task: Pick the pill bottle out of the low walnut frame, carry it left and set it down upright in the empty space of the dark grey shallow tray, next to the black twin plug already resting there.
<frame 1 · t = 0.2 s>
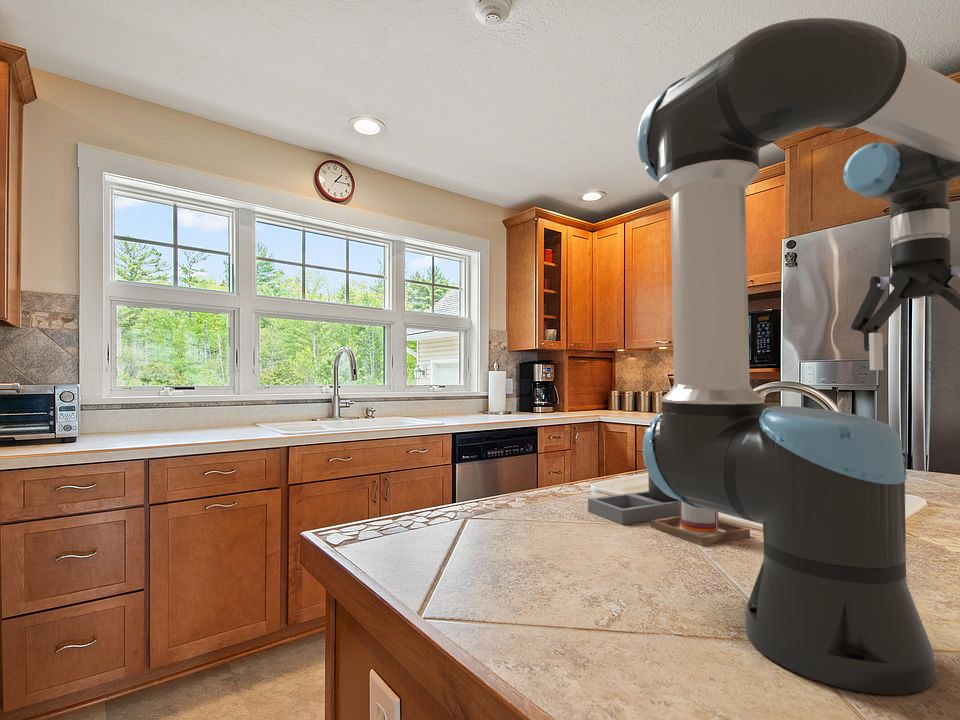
hand: (922, 369, 85), 28 cm above the counter, fingers open, 13 cm apart
twin plug: (663, 508, 104), resting in grey shallow tray
grey shallow tray: (644, 511, 102), on the counter
walnut frame: (698, 531, 89), on the counter
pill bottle: (699, 533, 89), resting in walnut frame
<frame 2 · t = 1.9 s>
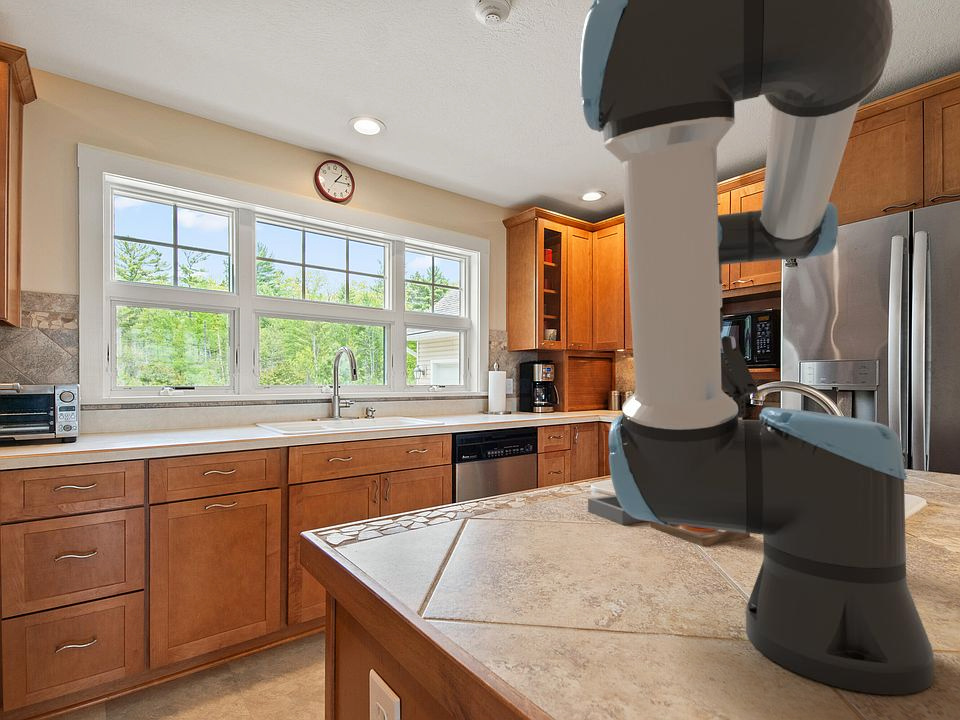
hand: (700, 433, 89), 17 cm above the counter, fingers open, 13 cm apart
nothing on the counter moved.
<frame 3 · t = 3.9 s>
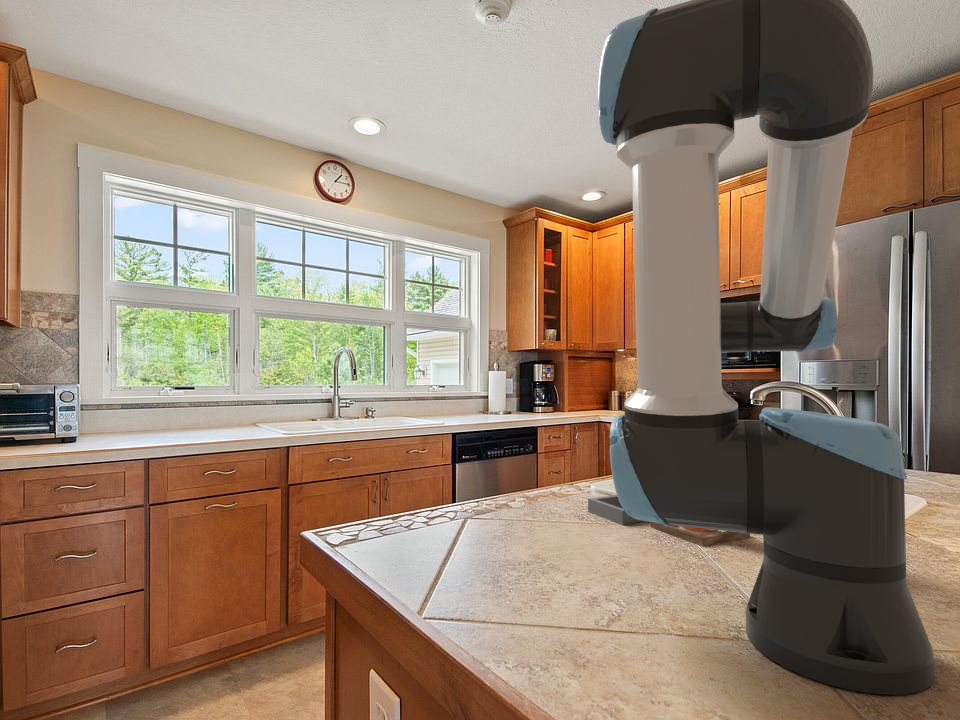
hand: (698, 523, 89), 1 cm above the counter, fingers closed on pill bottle, 6 cm apart
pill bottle: (699, 532, 89), resting in walnut frame, touching gripper
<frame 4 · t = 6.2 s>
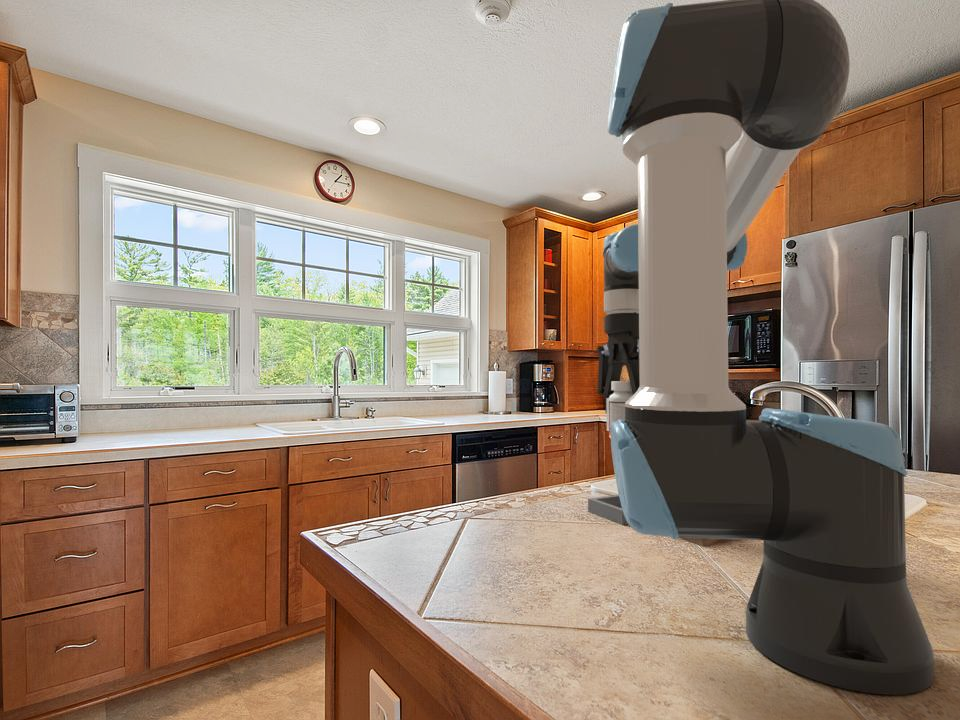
hand: (625, 432, 100), 16 cm above the counter, fingers closed on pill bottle, 6 cm apart
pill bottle: (625, 440, 100), point 14 cm above the counter, touching gripper
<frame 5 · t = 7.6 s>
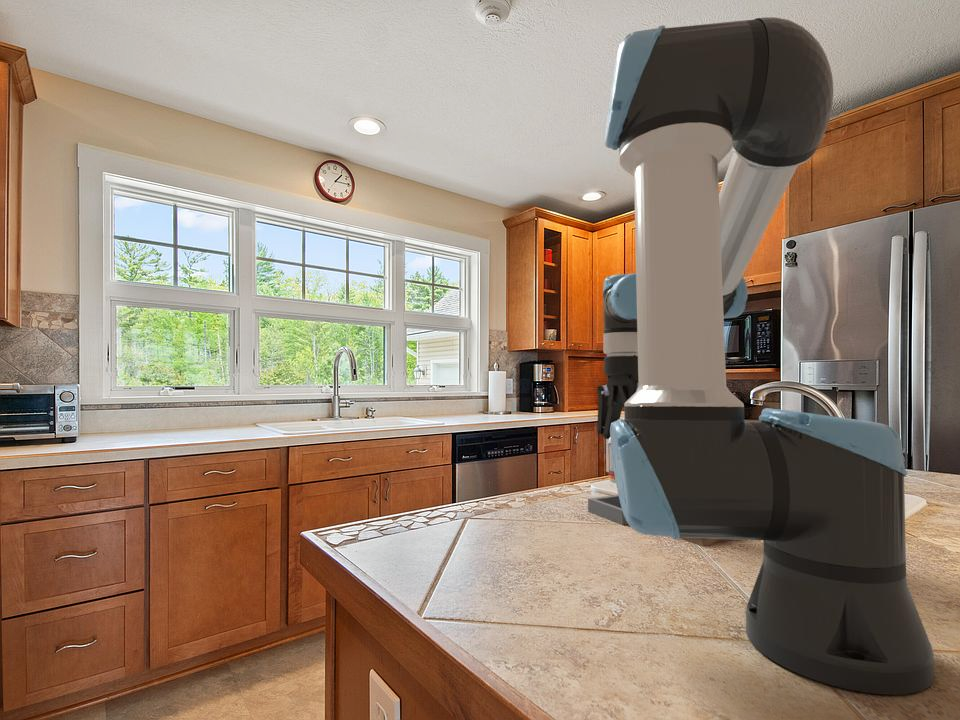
hand: (624, 474, 100), 8 cm above the counter, fingers closed on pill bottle, 6 cm apart
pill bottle: (625, 482, 100), point 6 cm above the counter, touching gripper
when the fingers open (3 cm above the counter, at t = 8.8 s): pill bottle drops 2 cm, resting in grey shallow tray.
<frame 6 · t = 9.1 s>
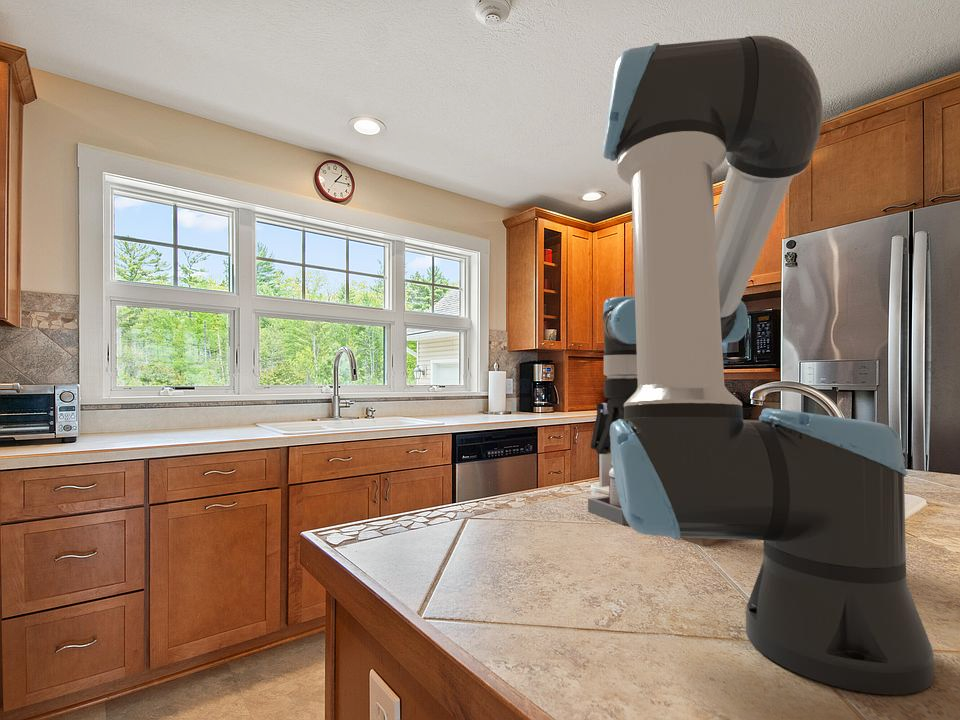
hand: (624, 491, 100), 4 cm above the counter, fingers open, 10 cm apart
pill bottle: (625, 515, 100), resting in grey shallow tray
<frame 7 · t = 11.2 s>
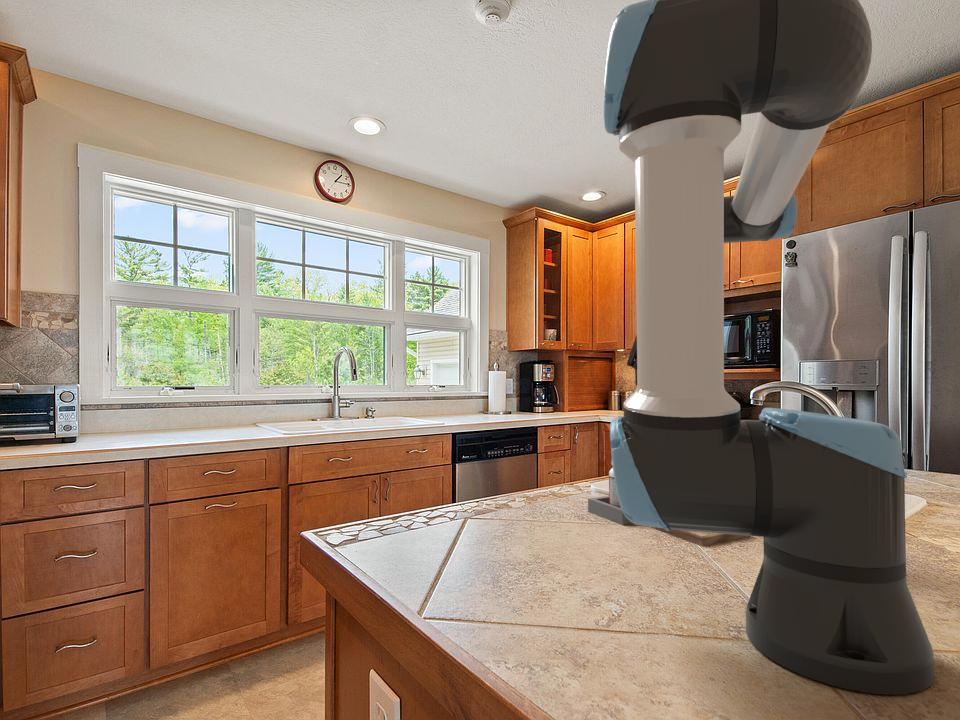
hand: (671, 403, 96), 22 cm above the counter, fingers open, 13 cm apart
nothing on the counter moved.
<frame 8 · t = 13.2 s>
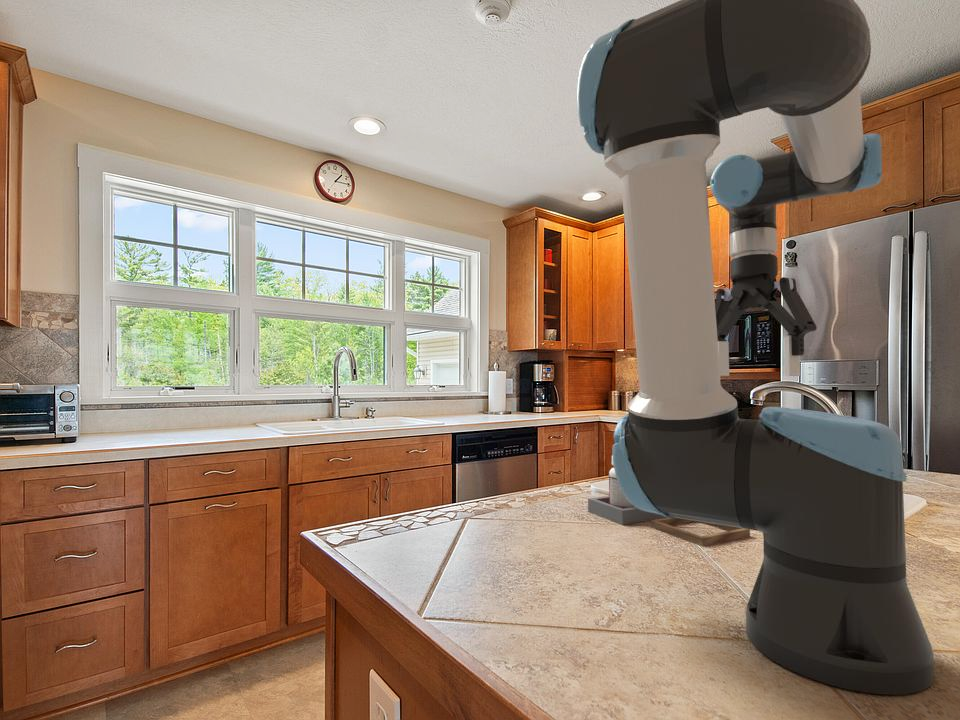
hand: (755, 376, 92), 27 cm above the counter, fingers open, 13 cm apart
nothing on the counter moved.
at the end: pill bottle 0.1 cm from the target spot on the grey shallow tray, point 0.0 cm above the grey shallow tray's base; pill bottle tilted 0°; the gripper is holding nothing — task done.
